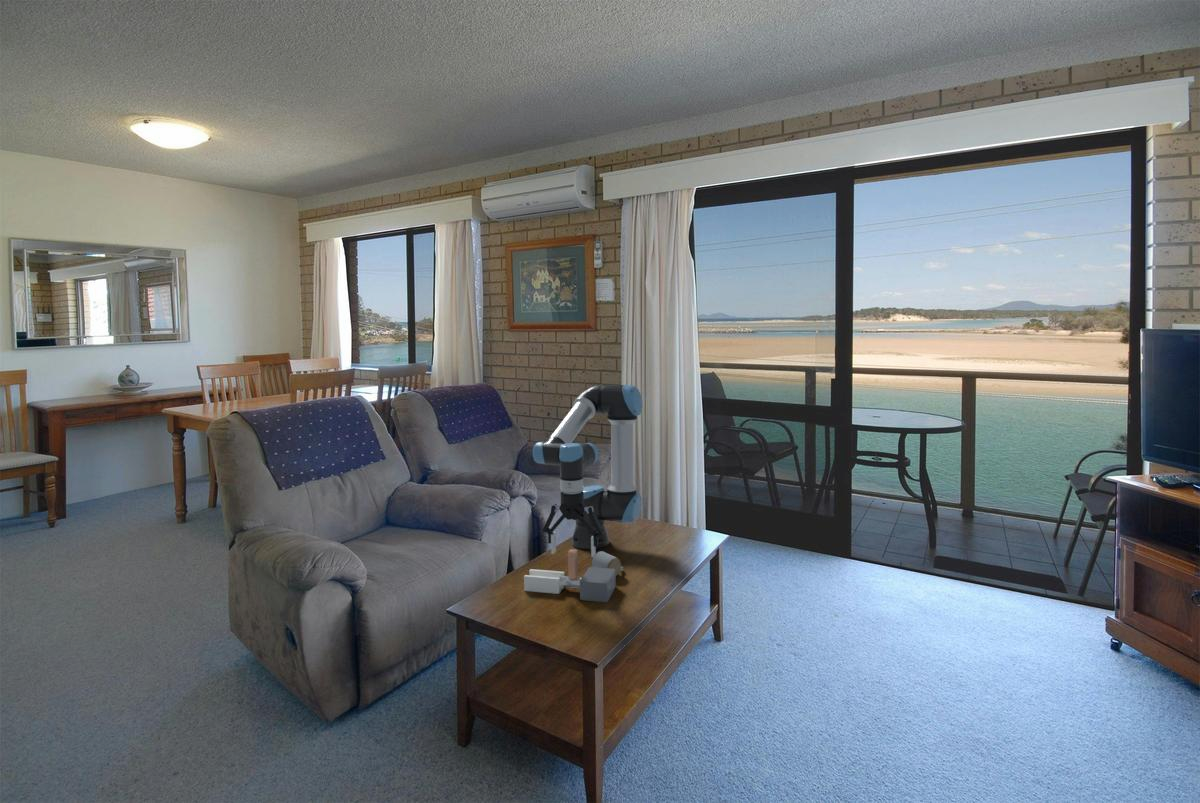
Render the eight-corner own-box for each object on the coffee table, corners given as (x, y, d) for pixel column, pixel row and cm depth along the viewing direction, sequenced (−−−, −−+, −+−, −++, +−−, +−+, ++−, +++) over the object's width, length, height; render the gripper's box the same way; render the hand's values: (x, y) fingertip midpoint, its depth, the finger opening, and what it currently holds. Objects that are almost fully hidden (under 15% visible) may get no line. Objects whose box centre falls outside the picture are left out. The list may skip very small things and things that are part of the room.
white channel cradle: (531, 583, 210) (530, 569, 209) (564, 586, 207) (564, 571, 206) (524, 590, 204) (523, 576, 203) (558, 593, 201) (558, 579, 200)
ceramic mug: (608, 581, 211) (608, 559, 210) (591, 574, 216) (591, 553, 215) (628, 572, 218) (628, 551, 217) (611, 567, 224) (611, 546, 223)
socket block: (589, 584, 208) (589, 566, 207) (615, 586, 206) (615, 568, 205) (580, 599, 196) (579, 581, 195) (607, 602, 194) (607, 583, 193)
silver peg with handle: (560, 583, 206) (559, 548, 204) (606, 587, 202) (606, 551, 200) (557, 587, 202) (556, 551, 201) (604, 592, 199) (603, 555, 197)
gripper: (531, 492, 198) (533, 555, 201) (606, 496, 193) (607, 561, 195) (539, 486, 206) (541, 547, 208) (611, 490, 200) (612, 552, 202)
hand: (573, 554), depth 202 cm, fingers open, 13 cm apart
